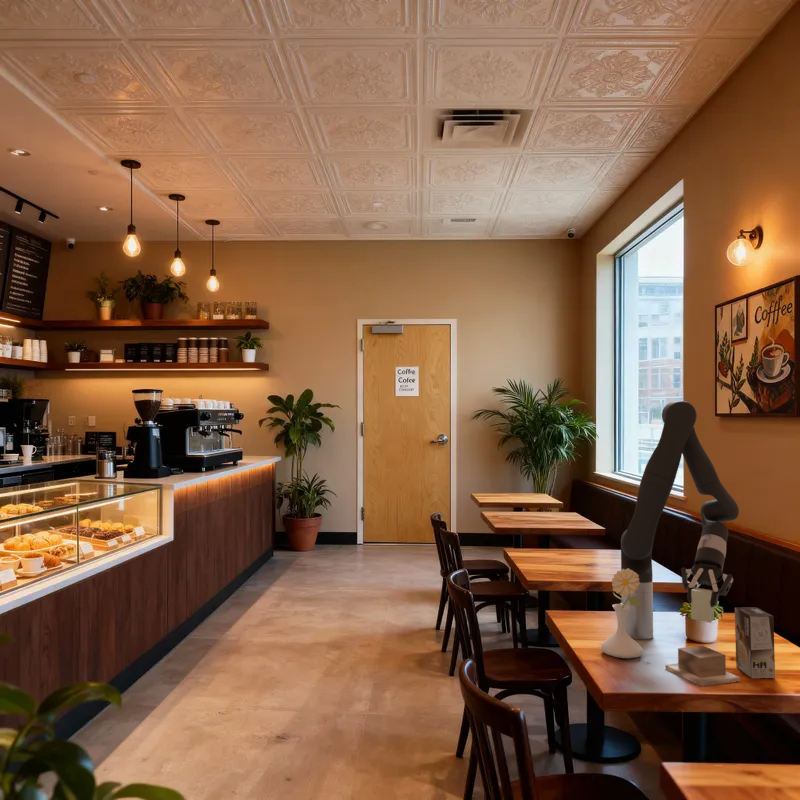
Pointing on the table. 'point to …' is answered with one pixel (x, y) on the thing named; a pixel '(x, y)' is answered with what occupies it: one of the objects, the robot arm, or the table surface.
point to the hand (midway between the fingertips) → (701, 603)
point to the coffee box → (755, 642)
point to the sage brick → (701, 605)
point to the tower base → (703, 680)
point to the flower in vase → (623, 617)
